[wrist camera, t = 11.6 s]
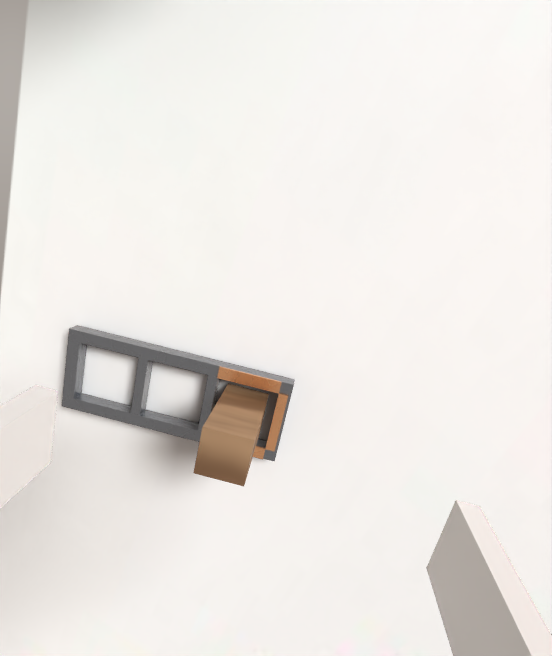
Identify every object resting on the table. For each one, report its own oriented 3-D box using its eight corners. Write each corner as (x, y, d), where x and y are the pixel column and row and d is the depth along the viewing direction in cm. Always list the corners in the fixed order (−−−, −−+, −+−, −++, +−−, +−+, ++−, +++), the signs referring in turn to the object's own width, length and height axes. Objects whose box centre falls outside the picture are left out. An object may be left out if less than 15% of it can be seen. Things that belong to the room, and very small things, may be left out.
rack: (77, 325, 44) (68, 328, 43) (294, 379, 43) (293, 385, 42) (69, 400, 47) (60, 406, 45) (275, 453, 46) (274, 462, 44)
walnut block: (228, 383, 44) (202, 427, 35) (269, 393, 44) (254, 440, 34) (220, 420, 45) (193, 473, 36) (260, 430, 45) (243, 486, 35)
